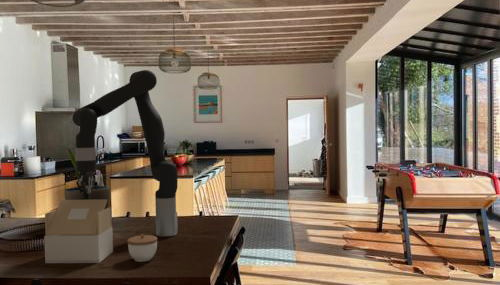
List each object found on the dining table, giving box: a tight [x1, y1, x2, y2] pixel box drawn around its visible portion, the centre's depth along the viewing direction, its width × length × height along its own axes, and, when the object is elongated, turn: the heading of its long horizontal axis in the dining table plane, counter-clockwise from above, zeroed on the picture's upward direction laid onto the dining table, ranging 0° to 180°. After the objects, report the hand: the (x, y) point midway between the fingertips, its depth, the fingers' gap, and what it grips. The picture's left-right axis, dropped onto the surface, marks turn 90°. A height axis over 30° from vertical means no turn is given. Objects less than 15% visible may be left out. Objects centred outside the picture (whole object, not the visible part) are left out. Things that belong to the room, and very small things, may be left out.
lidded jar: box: [127, 233, 158, 263], centre depth 157 cm, size 11×11×9 cm
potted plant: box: [63, 148, 111, 209], centre depth 215 cm, size 21×22×40 cm
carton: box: [43, 206, 114, 264], centre depth 161 cm, size 20×15×18 cm
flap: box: [45, 199, 107, 235], centre depth 159 cm, size 18×16×1 cm
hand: (86, 202), depth 167 cm, fingers closed
